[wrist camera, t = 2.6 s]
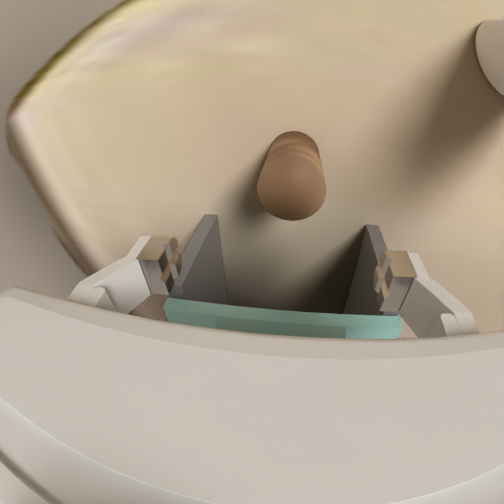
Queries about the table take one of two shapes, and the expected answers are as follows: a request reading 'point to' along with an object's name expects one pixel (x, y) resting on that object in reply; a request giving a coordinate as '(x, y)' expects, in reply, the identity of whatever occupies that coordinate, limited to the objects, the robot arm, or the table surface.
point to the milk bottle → (492, 51)
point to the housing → (214, 284)
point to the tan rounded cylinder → (292, 178)
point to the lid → (281, 321)
